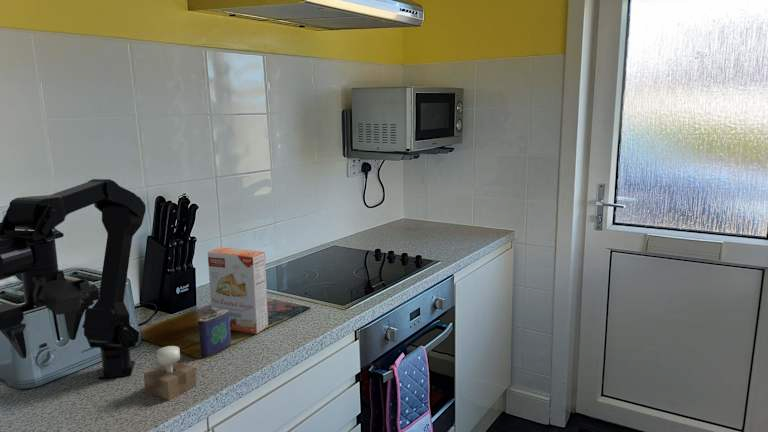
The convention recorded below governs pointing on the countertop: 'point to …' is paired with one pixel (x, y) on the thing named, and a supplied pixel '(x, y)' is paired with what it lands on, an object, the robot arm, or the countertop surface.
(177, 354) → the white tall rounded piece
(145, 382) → the block
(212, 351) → the flask
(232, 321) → the cracker box
